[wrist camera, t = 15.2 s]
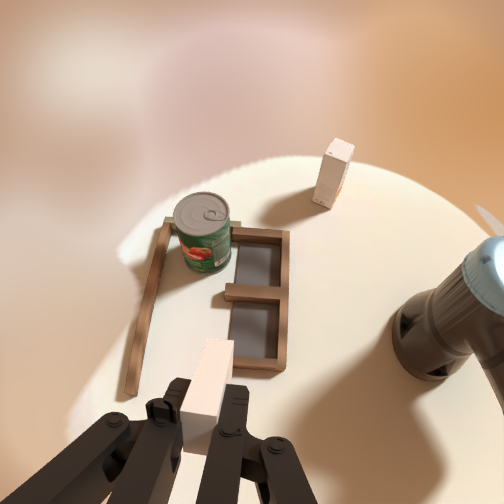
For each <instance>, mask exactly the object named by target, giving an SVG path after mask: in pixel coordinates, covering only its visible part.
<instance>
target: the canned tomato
mask: <svg viewBox="0 0 504 504" xmlns="http://www.w3.org/2000/svg"><path fill="white" fill-rule="evenodd" d="M229 213H230V212H229V206H228V204H227V202H226V201H225V200H224V199H223V198H222V197H221V196H219V195H217V194H215V193H211V192H197V193H193V194H190V195H188V196H186V197H184V198H183V199H182V200H181V201H180V202H179V203H178V204H177V205H176V207H175V209H174V212H173V219H174V223H175V226H176V230H177V233H178V237H179V241H180V244H181V248H182V251H183V255H184V259H185V262H186V264H187V266H188V267H189V268H190V269H191V270H192V271H193V272H195V273H197V274H201V275H212V274H216V273H218V272H220V271H222V270H223V269H224V268H225V267H226V266H227V265H228V263H229V262H230V259H231V239H230V218H229Z"/></svg>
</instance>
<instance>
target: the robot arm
mask: <svg viewBox="0 0 504 504" xmlns="http://www.w3.org/2000/svg"><path fill="white" fill-rule="evenodd" d="M392 340H393V346H394V349H395V352H396V355H397V357H398V359H399V361H400V362H401V364H402V365H403V366H404V368H405V369H406V370H407V371H408V372H409V373H411V374H412V375H413V376H415V377H417V378H419V379H422V380H426V381H437V380H441V379H443V378H446V377H448V376H450V375H452V374H454V373H455V372H456V371H458V370H459V369H460V368H461V366H462V365H463V364H464V363H465V362H466V360H467V359H468V358H469V357H470V356H471V354H472V353H475V355H476V357H477V359H478V361H479V362H480V364H481V366H482V368H483V370H484V372H485V374H486V376H487V378H488V380H489V382H490V384H491V386H492V388H493V390H494V393H495V395H496V397H497V399H498V401H499V403H500V406H501V408H502V410H503V415H504V236H495V237H490V238H488V239H486V240H485V241H483V242H482V243H481V244H480V245H479V246H478V247H477V248H476V249H475V250H473V251H471V252H470V253H469V254H468V255H467V256H466V257H465V259H464V261H463V262H462V263H461V264H460V266H459V267H458V268H457V269H456V270H455V271H454V272H453V273H452V274H451V275H450V276H448V277H447V278H446V279H445V280H444V281H443V282H442V283H441V284H440V285H439V286H438V287H437V288H434V289H431V290H428V291H424V292H421V293H418V294H416V295H414V296H413V297H411V298H410V299H409V300H408V301H407V302H406V303H405V304H404V305H403V306H402V307H401V308H400V309H399V311H398V312H397V314H396V316H395V319H394V323H393V328H392ZM233 350H234V340H225V339H216V338H208V340H207V342H206V345H205V347H204V350H203V352H202V355H201V357H200V360H199V363H198V365H197V368H196V370H195V373H194V375H193V378H192V380H190V379H183V378H176V379H174V380H173V381H172V382H170V384H169V387H168V389H167V391H166V393H165V395H164V397H163V398H156V399H152V400H150V401H148V402H147V403H146V411H147V417H148V419H146V420H140V421H129V419H128V417H127V416H126V415H124V414H123V413H119V412H110V413H107V414H105V415H103V416H102V417H101V418H100V419H99V420H97V421H96V422H95V423H94V424H93V425H92V426H91V427H89V428H88V429H87V430H86V431H85V432H84V433H82V434H81V435H80V436H79V437H78V438H77V439H75V440H74V441H73V442H72V443H71V444H70V445H68V446H67V447H66V448H65V449H64V450H63V451H62V452H60V453H59V454H58V455H57V456H56V457H54V458H53V459H52V460H51V461H50V462H49V463H47V464H46V465H45V466H44V467H43V468H41V469H40V470H39V471H38V472H37V473H36V474H34V475H33V476H32V477H31V478H29V479H28V480H27V481H26V482H25V483H23V484H22V485H21V486H20V487H18V488H17V489H16V490H15V491H14V492H12V493H11V494H10V495H9V496H7V497H6V498H5V499H4V500H3V501H1V502H0V504H101V503H102V502H103V501H104V499H105V498H106V497H107V496H108V495H109V494H110V493H111V492H112V493H111V495H110V497H109V499H108V502H107V504H168V501H169V497H170V494H171V491H172V488H173V484H174V481H175V478H176V475H177V471H178V468H179V465H180V462H181V450H182V447H183V452H188V453H194V454H200V455H206V456H207V458H206V462H205V466H204V470H203V475H202V479H201V483H200V487H199V491H198V496H197V500H196V504H237V502H238V494H239V486H240V478H241V477H242V478H244V479H247V480H250V481H253V482H255V485H256V489H257V493H258V496H259V500H260V504H318V503H317V501H316V499H315V496H314V494H313V492H312V490H311V487H310V485H309V483H308V480H307V478H306V476H305V473H304V471H303V468H302V466H301V464H300V461H299V459H298V457H297V454H296V452H295V449H294V447H293V445H292V444H291V442H290V441H289V440H287V439H285V438H282V437H269V438H267V439H265V440H261V439H258V438H255V437H253V436H252V435H250V434H249V432H248V431H247V429H246V422H247V413H248V402H249V391H248V389H247V387H246V386H243V385H233V384H231V380H232V367H233Z"/></svg>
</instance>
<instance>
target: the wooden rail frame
mask: <svg viewBox="0 0 504 504" xmlns="http://www.w3.org/2000/svg"><path fill="white" fill-rule="evenodd" d="M172 230H176V226H175V223H174V219H173V217H165V219H164V222H163V225H162V229H161V232H160V236H159V239H158V243H157V246H156V250H155V254H154V257H153V261H152V265H151V269H150V272H149V276H148V280H147V284H146V288H145V292H144V297H143V301H142V305H141V310H140V314H139V318H138V323H137V328H136V332H135V337H134V342H133V347H132V352H131V357H130V363H129V368H128V374H127V379H126V385H125V391H124V393H127V394H129V395H134V396H137V394H138V388H139V381H140V375H141V370H142V364H143V358H144V353H145V347H146V342H147V337H148V332H149V327H150V322H151V317H152V312H153V308H154V303H155V298H156V294H157V290H158V285H159V281H160V277H161V272H162V268H163V264H164V260H165V256H166V252H167V248H168V244H169V240H170V237H171V233H172ZM230 234H232V238H233V242H240V248H239V257H238V265H237V274H236V283H235V284H234V283H226V286H225V293H224V296H225V301H231V302H233V310H232V319H231V329H230V338H229V340H234V350H233V367H234V368H245V369H259V370H275V371H284V370H285V369H286V358H287V332H288V299H289V242H290V231H284V230H271V229H258V228H245V227H241V221H230ZM280 245H281V259H280ZM279 275H280V287H279ZM278 305H279V313H278ZM277 324H278V335H277ZM276 344H277V354H276Z"/></svg>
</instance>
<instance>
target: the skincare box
mask: <svg viewBox="0 0 504 504" xmlns="http://www.w3.org/2000/svg"><path fill="white" fill-rule="evenodd" d="M354 148H355V146H354V145H352V144H350V143H347V142H345V141H342V140H340V139H338V138H334V139H333V141H332V142H331V144H330V145H329V147H328V148H327V150H326V152H325V154H324V156H323V160H322V164H321V168H320V172H319V176H318V180H317V183H316V187H315V191H314V195H313V198H312V201H314V202H316V203H318V204H320V205H323V206H325V207H327V208H329V209H332V207H333V205H334V202H335V200H336V198H337V196H338V195H339V193H340V191H341V188H342V185H343V182H344V179H345V176H346V173H347V170H348V167H349V164H350V161H351V158H352V155H353V151H354Z"/></svg>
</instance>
